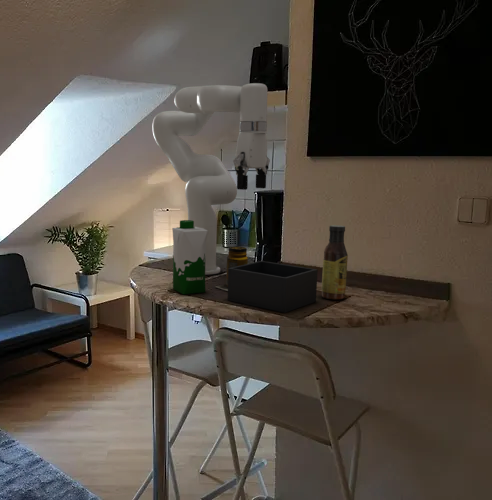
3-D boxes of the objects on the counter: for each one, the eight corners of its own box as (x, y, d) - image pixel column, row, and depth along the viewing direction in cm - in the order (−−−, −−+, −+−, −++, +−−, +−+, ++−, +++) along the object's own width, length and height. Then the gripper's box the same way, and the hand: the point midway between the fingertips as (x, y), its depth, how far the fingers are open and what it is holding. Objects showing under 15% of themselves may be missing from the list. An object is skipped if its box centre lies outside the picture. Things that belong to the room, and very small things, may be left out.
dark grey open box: (227, 300, 156) (228, 268, 155) (260, 290, 167) (261, 260, 166) (284, 313, 144) (286, 278, 143) (316, 301, 155) (317, 269, 154)
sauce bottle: (341, 301, 155) (346, 228, 152) (318, 298, 158) (322, 226, 155) (347, 296, 160) (351, 225, 157) (324, 293, 164) (328, 223, 160)
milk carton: (195, 286, 173) (196, 219, 169) (210, 293, 164) (211, 222, 161) (168, 288, 169) (169, 220, 166) (182, 295, 161) (183, 224, 158)
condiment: (253, 288, 170) (254, 248, 168) (231, 292, 165) (232, 250, 163) (236, 284, 176) (237, 244, 174) (214, 287, 171) (215, 247, 169)
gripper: (258, 130, 175) (256, 187, 177) (224, 128, 162) (223, 189, 165) (280, 129, 169) (278, 188, 172) (247, 127, 157) (246, 190, 160)
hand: (251, 188), depth 168 cm, fingers open, 9 cm apart
